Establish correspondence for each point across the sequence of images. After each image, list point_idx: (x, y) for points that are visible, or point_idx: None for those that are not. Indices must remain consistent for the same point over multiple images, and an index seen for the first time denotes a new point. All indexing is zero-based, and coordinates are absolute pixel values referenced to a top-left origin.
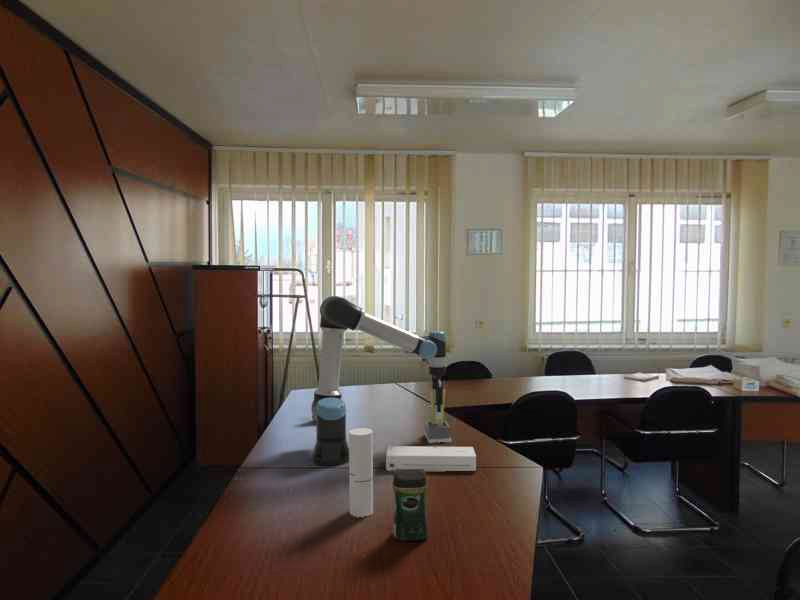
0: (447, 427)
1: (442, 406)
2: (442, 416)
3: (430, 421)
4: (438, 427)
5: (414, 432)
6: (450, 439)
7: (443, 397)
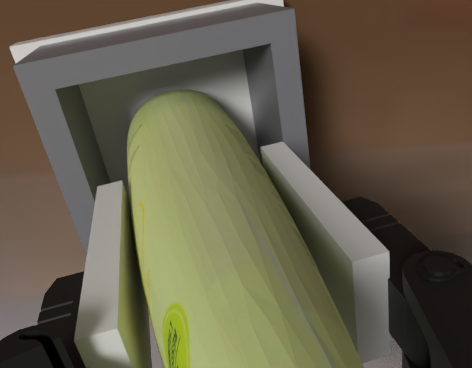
0: (294, 44)
1: (283, 210)
2: (238, 140)
3: (86, 247)
4: (307, 147)
5: (32, 306)
6: (280, 1)
7: (344, 335)
